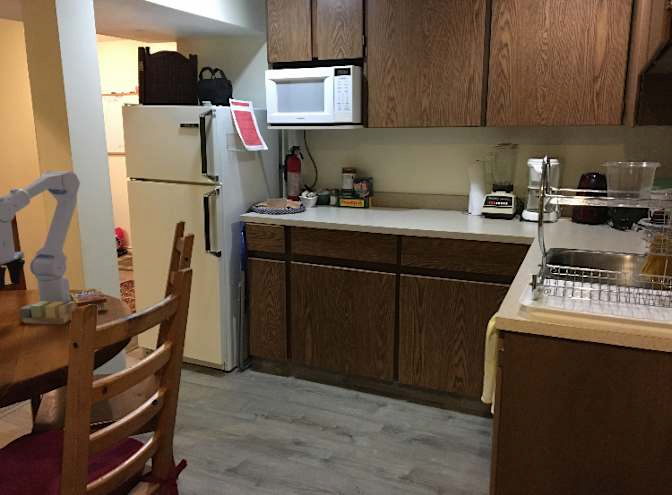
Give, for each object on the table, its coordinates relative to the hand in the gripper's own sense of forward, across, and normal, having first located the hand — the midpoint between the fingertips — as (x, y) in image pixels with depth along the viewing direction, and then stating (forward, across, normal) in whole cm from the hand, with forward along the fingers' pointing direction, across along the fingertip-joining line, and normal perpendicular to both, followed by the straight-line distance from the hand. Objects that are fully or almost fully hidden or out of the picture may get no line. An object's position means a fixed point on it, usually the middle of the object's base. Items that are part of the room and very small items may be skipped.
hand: (8, 286), depth 174 cm
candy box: (+8, +8, -22) cm, 25 cm away
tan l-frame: (+10, 0, -13) cm, 16 cm away
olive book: (+10, 0, -10) cm, 14 cm away
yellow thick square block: (+10, 0, -15) cm, 18 cm away
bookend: (+10, 0, -6) cm, 12 cm away
